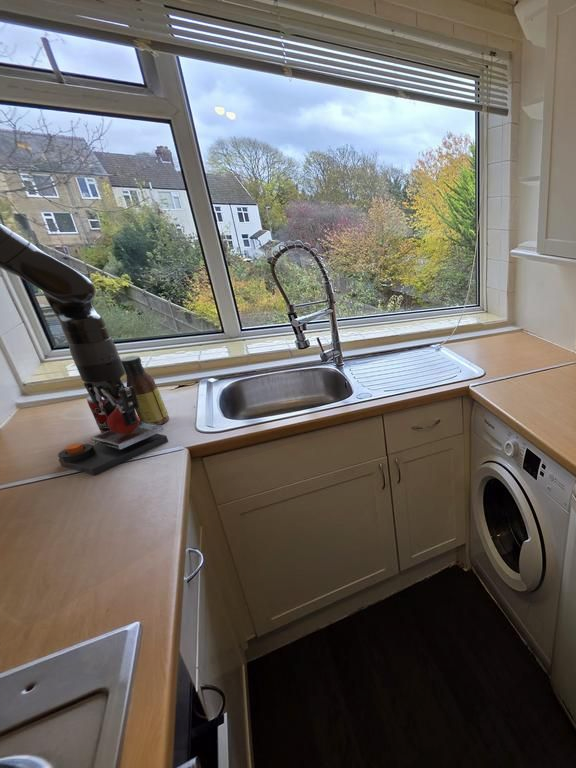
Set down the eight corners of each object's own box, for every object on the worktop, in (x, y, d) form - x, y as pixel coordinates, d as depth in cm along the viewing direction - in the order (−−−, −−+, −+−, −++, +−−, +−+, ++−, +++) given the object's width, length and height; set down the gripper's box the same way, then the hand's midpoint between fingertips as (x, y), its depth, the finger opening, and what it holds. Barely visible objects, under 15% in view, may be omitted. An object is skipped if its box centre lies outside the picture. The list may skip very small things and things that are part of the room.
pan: (119, 449, 96) (117, 444, 96) (92, 442, 99) (89, 437, 99) (164, 430, 105) (162, 425, 105) (137, 424, 108) (135, 419, 107)
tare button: (72, 455, 95) (69, 450, 94) (64, 453, 95) (62, 447, 95) (87, 449, 97) (84, 444, 96) (79, 447, 98) (77, 441, 97)
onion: (107, 437, 101) (95, 409, 97) (134, 427, 106) (123, 399, 102) (121, 442, 99) (109, 413, 95) (148, 431, 104) (138, 403, 100)
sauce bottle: (158, 416, 119) (134, 352, 111) (175, 418, 118) (153, 354, 110) (134, 427, 113) (108, 360, 106) (153, 429, 112) (127, 362, 104)
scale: (93, 477, 92) (87, 464, 91) (58, 466, 96) (52, 454, 94) (168, 441, 107) (164, 430, 105) (136, 433, 110) (131, 422, 109)
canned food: (98, 432, 111) (82, 395, 106) (135, 420, 117) (122, 386, 112) (106, 440, 107) (90, 403, 102) (145, 428, 113) (131, 392, 108)
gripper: (56, 360, 93) (85, 424, 99) (98, 367, 89) (125, 434, 95) (96, 350, 99) (121, 411, 106) (136, 357, 95) (160, 420, 102)
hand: (123, 422), depth 101 cm, fingers closed on onion, 6 cm apart
